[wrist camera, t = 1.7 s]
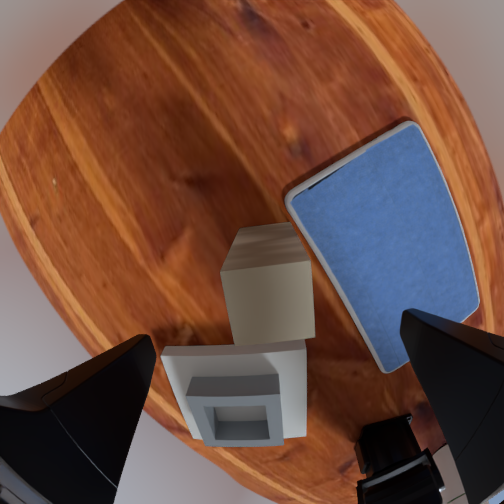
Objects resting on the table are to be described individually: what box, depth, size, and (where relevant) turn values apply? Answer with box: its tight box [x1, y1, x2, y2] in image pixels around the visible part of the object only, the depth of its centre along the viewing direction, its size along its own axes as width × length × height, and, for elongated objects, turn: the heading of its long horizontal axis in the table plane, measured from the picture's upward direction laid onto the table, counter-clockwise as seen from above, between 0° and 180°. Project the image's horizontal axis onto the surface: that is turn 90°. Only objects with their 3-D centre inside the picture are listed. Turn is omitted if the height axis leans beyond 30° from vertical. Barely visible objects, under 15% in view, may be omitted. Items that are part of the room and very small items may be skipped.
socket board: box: [160, 339, 307, 447], centre depth 22 cm, size 12×12×4 cm
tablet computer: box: [285, 121, 480, 373], centre depth 20 cm, size 19×13×1 cm, turn 34°
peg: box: [220, 222, 315, 346], centre depth 16 cm, size 4×4×9 cm
